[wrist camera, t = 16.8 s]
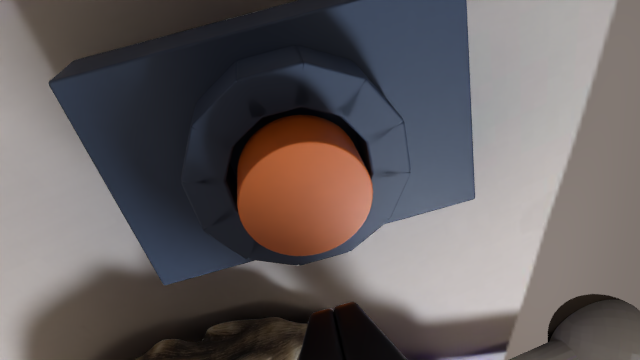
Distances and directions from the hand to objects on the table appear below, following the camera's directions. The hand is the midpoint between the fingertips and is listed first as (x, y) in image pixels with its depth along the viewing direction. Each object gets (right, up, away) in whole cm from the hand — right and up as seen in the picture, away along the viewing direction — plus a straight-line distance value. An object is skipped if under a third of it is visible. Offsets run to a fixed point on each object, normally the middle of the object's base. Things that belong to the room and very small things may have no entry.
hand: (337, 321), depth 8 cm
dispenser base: (-1, +5, +8) cm, 9 cm away
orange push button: (-1, +3, +5) cm, 6 cm away
